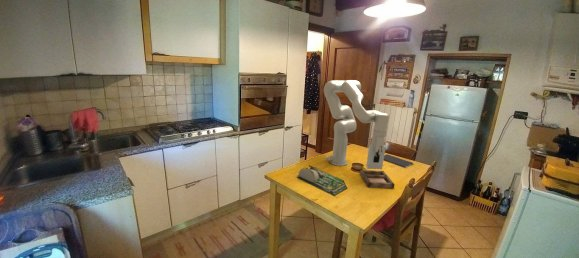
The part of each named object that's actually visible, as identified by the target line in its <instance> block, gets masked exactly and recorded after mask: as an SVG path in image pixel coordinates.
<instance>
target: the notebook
mask: <svg viewBox="0 0 579 258" xmlns="http://www.w3.org/2000/svg"><path fill="white" fill-rule="evenodd" d="M384 161H385V162H386V163H387V162H388V163H390V164H393V165H395V166H398V167H401V168H404V169H406V168H407V167H410V166H412V165H414V162H412V161H408V160H406V159H403V158H400V157H397V156H393V155H390V154H388V153H387V154H384V160H383V162H384Z"/></svg>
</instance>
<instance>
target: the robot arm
mask: <svg viewBox="0 0 579 258" xmlns="http://www.w3.org/2000/svg"><path fill="white" fill-rule="evenodd" d="M361 90H362V84H361V82H360V81H358V80H356V79H354V80H353V79H348V80H347V79H346V80H345V79H344V80H341V79H338V80H336V79H334V80H333V79H332V80H329V81H327V82H326V83H325V84H324V87H323V93H324V97H325V99H326V101H327V104H328V107H329V110H330V114H331V116H332V118H333V119H335V120H338V121H336V122H335V123H334V125H333V133H334V135H333V136H334V137H333V146H332V154H331V155H330V156H328V155H327V156H325V160H328V161H329V163H330V164H332V165H335V166H338V167H339V166H341V167H342V166H343V167H344V166H347V165H348V160H346V158H347V151H348V150H347V149H348V139H349V138H348V135H347V134H348V133H352V132H355V131H356V130H357V121H356V118H357V119H358V121H360V122H361V123H363V124H368V123H374V125H373V131H372V138H371V142H370V144H372V145H373V146H374V148H373V151H374V152H375V156H374V161H373V162H375V163H379V158H380V155H381V153H382V152H383V149H384V146H385V141H386V139H385V137H386V136H387V130H388V126H389V121H390V120H389V119H390V114H389V113H387V112H381V111H379V110H375V109H371V110H369V109H368V110H366V109H365V107H363V105H362V103H361V102H362V101H363V99H364V97H365V96H364V94H363V93H362V91H361ZM336 93H344V95H345V96H346V97H347V99H348V101H350V102H351V105H352V108H351V107H350V106H349V105H346V104H342V103H341V100H340V97H339V96H338V95H337V94H336ZM355 117H356V118H355ZM378 151H379V152H378Z"/></svg>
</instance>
